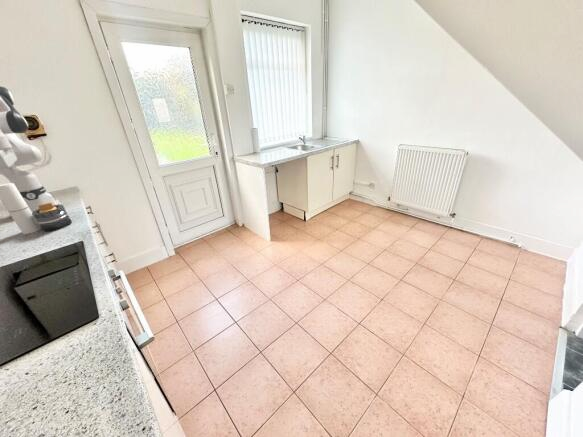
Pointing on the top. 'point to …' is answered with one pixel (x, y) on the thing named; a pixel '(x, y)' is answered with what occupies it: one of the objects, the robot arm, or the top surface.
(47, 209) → the cap
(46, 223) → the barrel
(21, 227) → the cylindrical container
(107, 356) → the top surface
